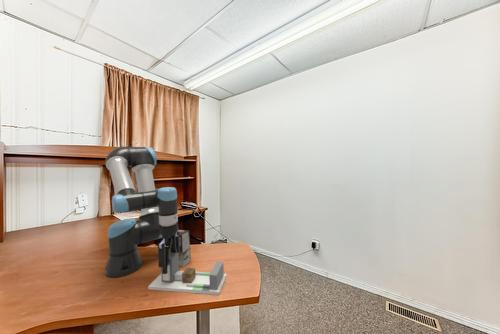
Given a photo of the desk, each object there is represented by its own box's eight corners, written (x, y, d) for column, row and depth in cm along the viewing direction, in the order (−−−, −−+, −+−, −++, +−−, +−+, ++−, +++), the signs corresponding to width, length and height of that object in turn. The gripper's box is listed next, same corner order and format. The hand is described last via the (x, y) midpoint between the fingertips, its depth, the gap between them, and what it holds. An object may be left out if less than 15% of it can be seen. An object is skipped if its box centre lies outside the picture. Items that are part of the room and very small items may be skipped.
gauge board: (148, 289, 81) (147, 272, 81) (164, 272, 93) (164, 257, 92) (218, 294, 77) (218, 277, 76) (226, 276, 89) (226, 260, 88)
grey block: (161, 281, 83) (160, 258, 83) (168, 273, 89) (168, 252, 88) (181, 282, 82) (180, 259, 82) (187, 275, 88) (186, 253, 87)
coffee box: (191, 260, 103) (190, 230, 102) (183, 267, 97) (182, 235, 96) (177, 258, 106) (175, 228, 105) (168, 264, 100) (167, 233, 99)
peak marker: (182, 282, 83) (182, 273, 83) (187, 276, 87) (186, 267, 87) (191, 283, 82) (191, 274, 82) (195, 277, 87) (195, 268, 86)
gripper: (164, 232, 75) (166, 290, 76) (186, 217, 93) (188, 264, 95) (146, 231, 76) (148, 289, 77) (172, 216, 94) (173, 263, 96)
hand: (170, 275), depth 86 cm, fingers closed on grey block, 6 cm apart
